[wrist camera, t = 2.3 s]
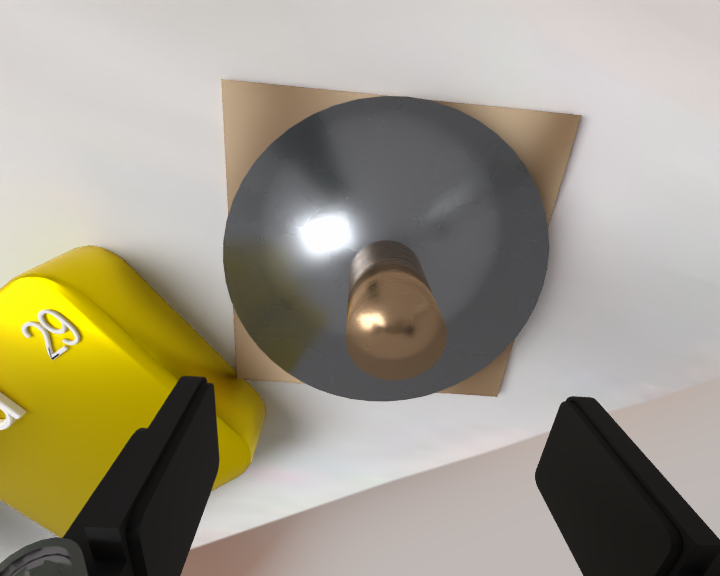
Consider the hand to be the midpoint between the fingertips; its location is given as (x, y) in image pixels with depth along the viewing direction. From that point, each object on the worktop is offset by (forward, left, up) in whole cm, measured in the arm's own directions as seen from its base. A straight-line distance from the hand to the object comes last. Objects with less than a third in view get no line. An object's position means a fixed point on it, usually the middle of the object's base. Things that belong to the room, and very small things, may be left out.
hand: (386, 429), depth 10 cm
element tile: (+15, +10, -12) cm, 22 cm away
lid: (-1, 0, -11) cm, 11 cm away
